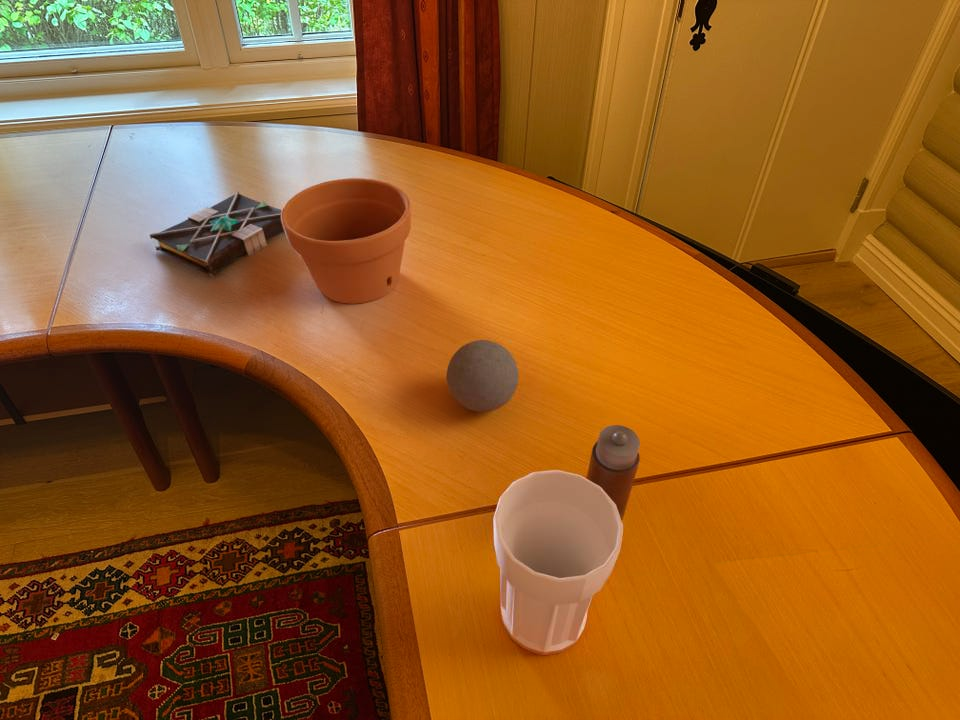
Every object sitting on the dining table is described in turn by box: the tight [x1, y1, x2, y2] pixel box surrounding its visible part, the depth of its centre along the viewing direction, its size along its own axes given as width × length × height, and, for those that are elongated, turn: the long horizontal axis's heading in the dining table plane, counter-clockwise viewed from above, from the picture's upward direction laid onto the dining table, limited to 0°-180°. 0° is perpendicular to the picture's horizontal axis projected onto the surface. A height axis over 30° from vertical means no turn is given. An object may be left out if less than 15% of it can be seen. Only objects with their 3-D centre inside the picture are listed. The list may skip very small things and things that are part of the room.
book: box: [149, 190, 285, 279], centre depth 118 cm, size 22×17×5 cm
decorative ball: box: [446, 339, 519, 413], centre depth 84 cm, size 10×10×10 cm
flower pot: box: [281, 177, 412, 305], centre depth 104 cm, size 21×21×15 cm
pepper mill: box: [585, 424, 641, 522], centre depth 69 cm, size 5×5×14 cm
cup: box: [493, 469, 624, 656], centre depth 59 cm, size 11×11×17 cm
